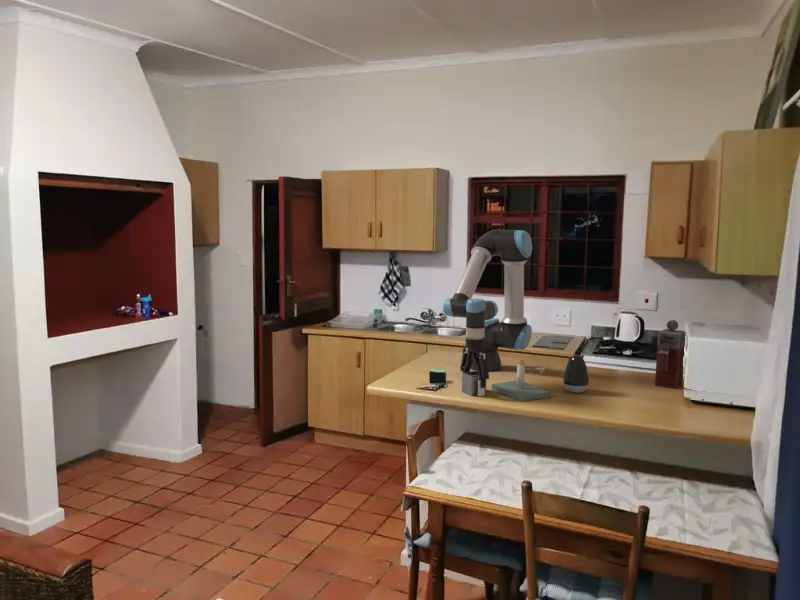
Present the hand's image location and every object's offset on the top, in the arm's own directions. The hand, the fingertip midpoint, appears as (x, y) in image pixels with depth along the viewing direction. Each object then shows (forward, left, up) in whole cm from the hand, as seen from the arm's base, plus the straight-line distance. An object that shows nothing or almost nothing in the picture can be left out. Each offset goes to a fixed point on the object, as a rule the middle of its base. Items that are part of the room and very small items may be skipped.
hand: (473, 392), depth 260 cm
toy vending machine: (+26, +81, 0) cm, 85 cm away
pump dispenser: (+16, +39, 0) cm, 42 cm away
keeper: (+8, +17, 0) cm, 19 cm away
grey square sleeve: (0, 0, 0) cm, 0 cm away
